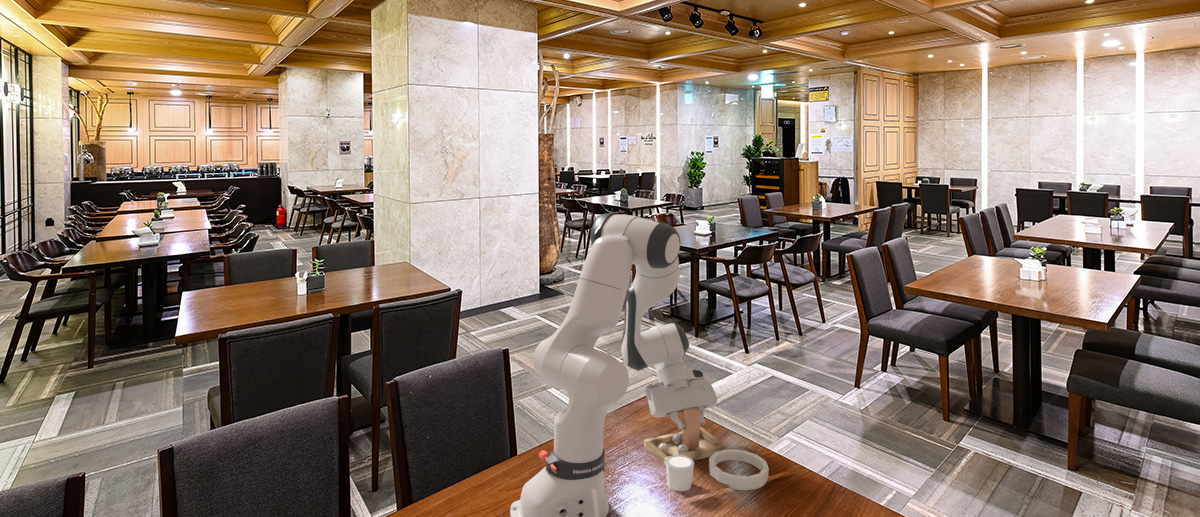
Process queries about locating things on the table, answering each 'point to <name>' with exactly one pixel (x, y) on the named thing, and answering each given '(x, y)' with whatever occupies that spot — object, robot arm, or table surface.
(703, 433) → the parts tray
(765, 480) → the bowl
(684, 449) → the pebble
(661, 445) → the pebble
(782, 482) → the table surface
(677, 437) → the pebble
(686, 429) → the peach cylinder
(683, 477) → the shot glass
